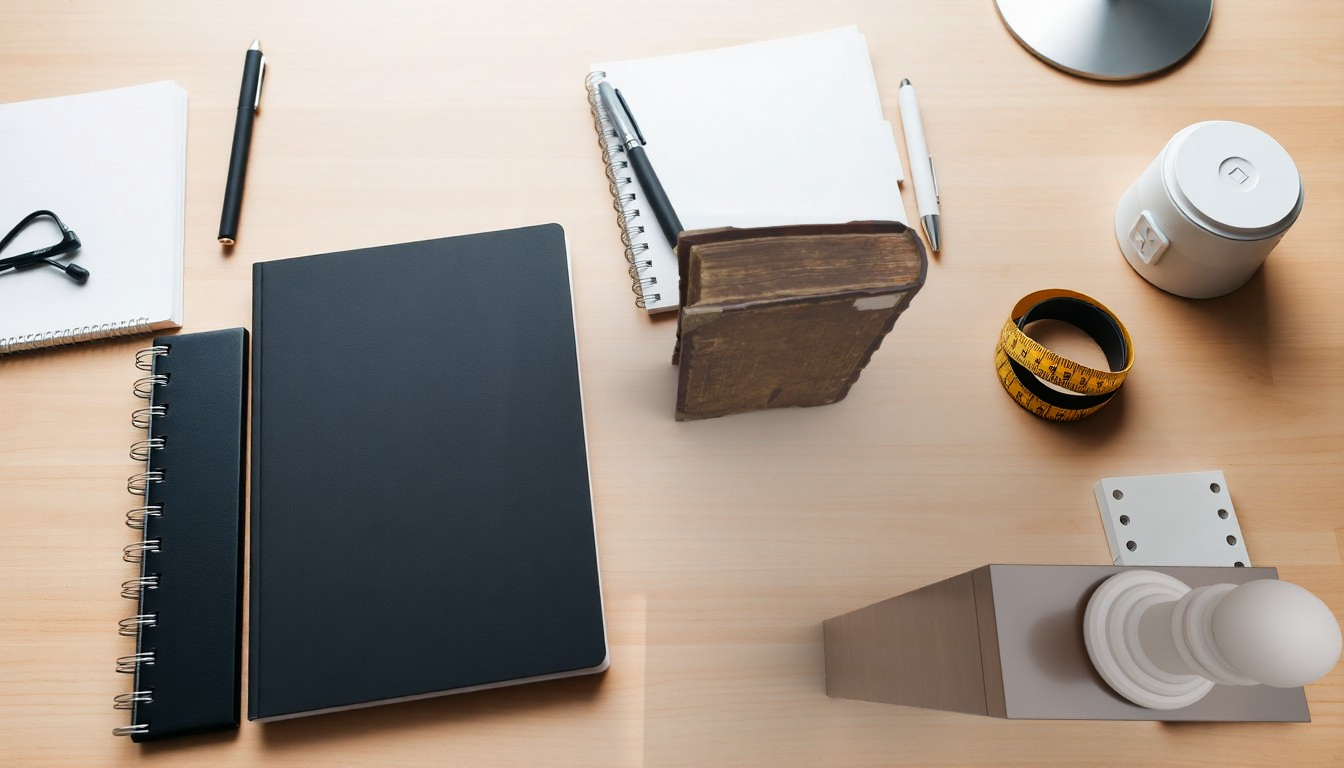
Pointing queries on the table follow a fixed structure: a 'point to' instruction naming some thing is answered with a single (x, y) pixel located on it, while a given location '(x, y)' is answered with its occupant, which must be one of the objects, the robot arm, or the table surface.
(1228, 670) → the chess piece
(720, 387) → the book
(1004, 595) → the brushed taupe box
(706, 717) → the table surface
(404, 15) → the table surface
